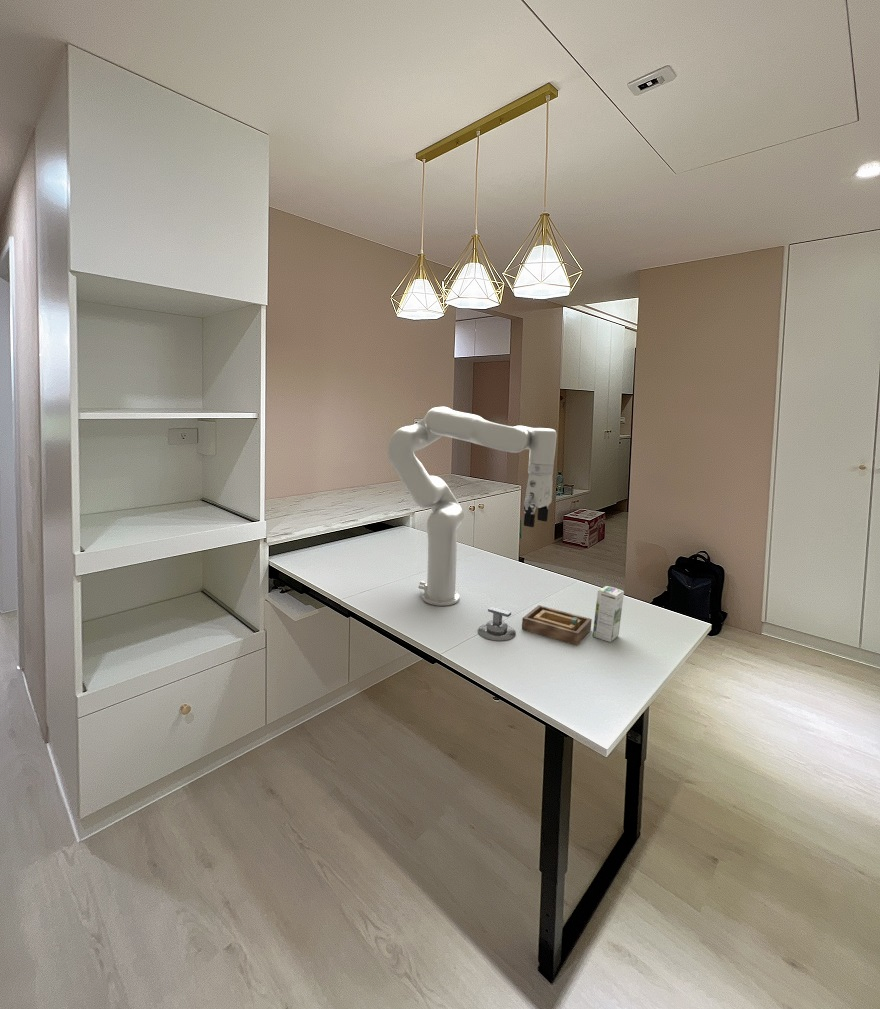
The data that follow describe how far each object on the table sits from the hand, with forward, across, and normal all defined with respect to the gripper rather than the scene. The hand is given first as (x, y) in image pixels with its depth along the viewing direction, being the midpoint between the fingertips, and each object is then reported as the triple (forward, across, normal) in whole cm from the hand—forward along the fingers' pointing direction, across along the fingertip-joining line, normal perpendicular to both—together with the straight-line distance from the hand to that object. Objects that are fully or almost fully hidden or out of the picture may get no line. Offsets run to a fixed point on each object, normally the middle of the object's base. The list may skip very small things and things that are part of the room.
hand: (535, 523), depth 166 cm
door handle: (+29, -20, 0) cm, 36 cm away
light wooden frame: (+28, -7, -13) cm, 32 cm away
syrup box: (+29, -2, -26) cm, 39 cm away
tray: (+29, -7, -13) cm, 33 cm away
